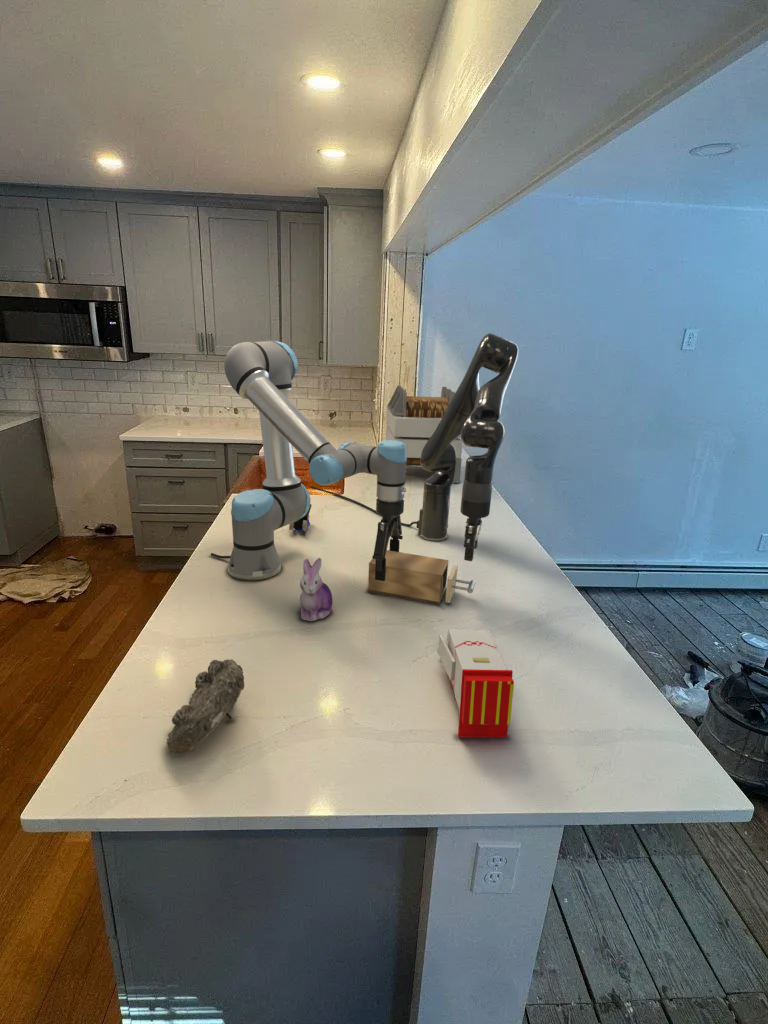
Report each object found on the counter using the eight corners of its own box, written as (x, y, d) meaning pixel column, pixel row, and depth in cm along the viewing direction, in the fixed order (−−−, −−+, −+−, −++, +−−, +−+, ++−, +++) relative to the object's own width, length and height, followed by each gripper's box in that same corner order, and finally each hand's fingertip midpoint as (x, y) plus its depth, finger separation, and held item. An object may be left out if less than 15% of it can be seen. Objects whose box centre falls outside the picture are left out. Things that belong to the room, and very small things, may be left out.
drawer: (475, 591, 159) (477, 568, 157) (470, 606, 151) (472, 582, 149) (391, 577, 165) (392, 554, 163) (382, 590, 157) (383, 567, 155)
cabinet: (446, 588, 162) (448, 559, 159) (438, 605, 153) (441, 575, 150) (378, 576, 167) (380, 548, 164) (367, 592, 158) (368, 562, 155)
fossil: (192, 660, 117) (244, 628, 112) (224, 691, 120) (276, 661, 115) (142, 746, 98) (202, 712, 93) (182, 779, 101) (242, 748, 96)
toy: (488, 613, 130) (523, 677, 101) (484, 667, 133) (517, 744, 104) (435, 612, 130) (455, 676, 101) (432, 666, 133) (451, 743, 103)
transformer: (382, 463, 289) (386, 382, 275) (445, 464, 293) (451, 384, 279) (390, 482, 257) (394, 392, 243) (460, 483, 261) (468, 394, 247)
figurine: (305, 626, 140) (305, 571, 134) (291, 607, 148) (291, 554, 143) (340, 618, 144) (341, 564, 139) (325, 600, 152) (325, 549, 147)
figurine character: (308, 540, 194) (312, 520, 207) (307, 521, 190) (312, 501, 204) (288, 540, 194) (294, 519, 207) (287, 520, 190) (293, 501, 204)
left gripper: (390, 514, 141) (387, 591, 148) (414, 487, 163) (410, 555, 170) (362, 511, 142) (360, 586, 150) (389, 484, 165) (387, 551, 172)
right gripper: (488, 506, 139) (481, 566, 144) (493, 490, 152) (487, 546, 157) (457, 503, 141) (452, 562, 146) (465, 487, 154) (460, 542, 159)
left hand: (387, 569), depth 160 cm, fingers open, 13 cm apart
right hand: (470, 554), depth 152 cm, fingers open, 8 cm apart
